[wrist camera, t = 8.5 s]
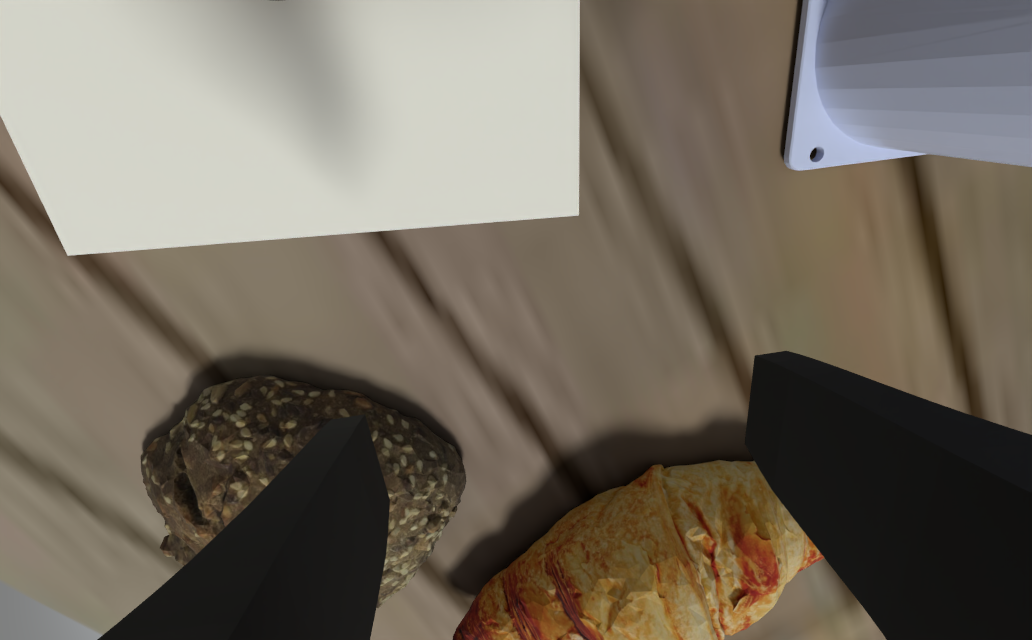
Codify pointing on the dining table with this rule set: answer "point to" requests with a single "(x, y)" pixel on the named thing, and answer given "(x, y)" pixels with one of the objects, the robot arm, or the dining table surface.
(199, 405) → the bread roll
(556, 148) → the cover
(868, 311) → the dining table surface
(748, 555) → the croissant
